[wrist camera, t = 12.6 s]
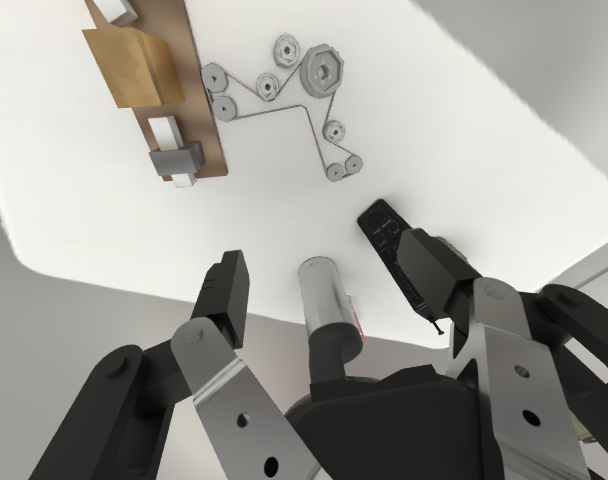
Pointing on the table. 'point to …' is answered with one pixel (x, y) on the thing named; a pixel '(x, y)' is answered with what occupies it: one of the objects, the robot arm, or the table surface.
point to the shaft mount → (178, 116)
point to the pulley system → (311, 81)
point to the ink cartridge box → (355, 318)
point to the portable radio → (393, 252)
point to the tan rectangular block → (135, 67)
